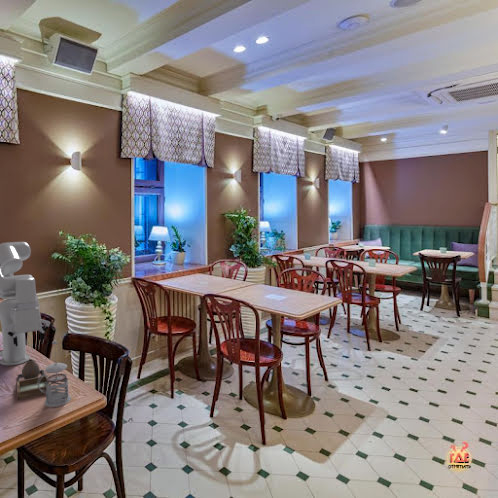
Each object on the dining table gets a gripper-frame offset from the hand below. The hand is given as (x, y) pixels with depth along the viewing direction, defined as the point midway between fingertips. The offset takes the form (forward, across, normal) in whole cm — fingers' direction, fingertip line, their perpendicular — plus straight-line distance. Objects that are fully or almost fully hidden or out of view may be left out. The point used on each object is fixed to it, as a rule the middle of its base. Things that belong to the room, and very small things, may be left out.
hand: (29, 343), depth 167 cm
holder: (+17, 0, -12) cm, 21 cm away
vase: (+17, 0, +1) cm, 17 cm away
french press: (+17, +7, -26) cm, 32 cm away
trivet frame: (+17, 0, +1) cm, 17 cm away
